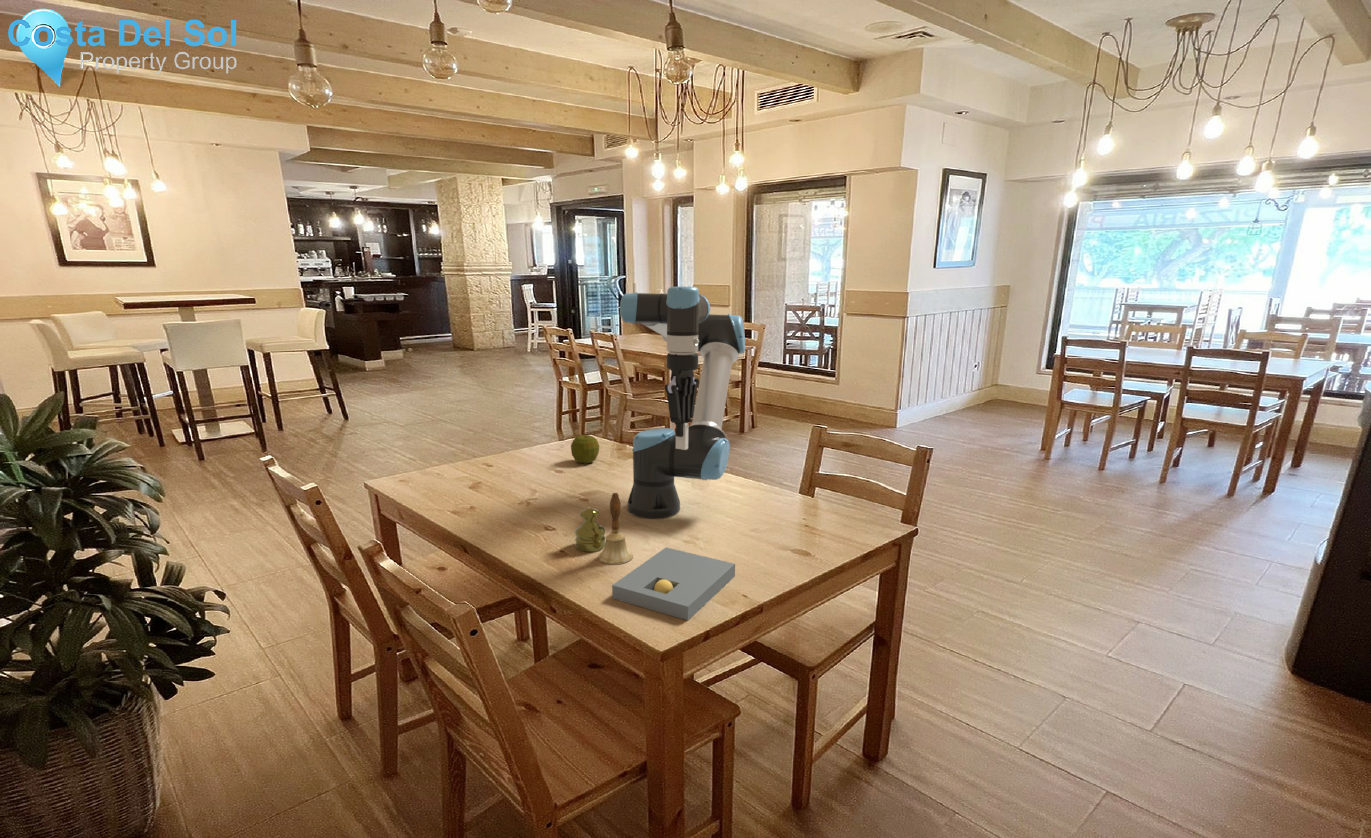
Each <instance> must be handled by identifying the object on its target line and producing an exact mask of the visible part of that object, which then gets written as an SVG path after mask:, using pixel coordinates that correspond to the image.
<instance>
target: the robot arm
mask: <svg viewBox="0 0 1371 838" xmlns="http://www.w3.org/2000/svg"><path fill="white" fill-rule="evenodd" d="M666 291H667V292H666V293H650V292H649V293H648V292H646V293H645V292H644V293H643V292H642V293H641V292H630V293H624V294H623V295H622V297H621V300H620V304H619V313H620V314H619V315H620V318H621V320H622V321H623V322H624V323H630V324H641V325H643V326H645V327H647V328H648V329H651V330H652V331H654V332H655V333H657V334H659V335H660V336H661V338H662V339H663V340H664V341H665V342H666V351H667V352H668V353H667V354H666V368H667V369H668V370H670V371H671V375H670V383H669V384H665V385H664V390H665V392H666V397H667V405H668V414H669V420H670V422H671V423H673V424H675V430H674V429H673V428H669V427H658V428H651V429H646V430H642V431H640V432H638V433H637V434H636V435H635V436H634V437H633V441H632V444H633V445H632V446H633V447H632V473H633V475H632V476H633V484H632V487H631V491H630V494H629V496H628V500H627V511H628V513H630V514H631V515H633V516H635V517H640V518H646V519H661V518H663V519H664V518H668V517H671V516H674V515H676V514H678V513H679V512H680V510H681V500H680V498H679V494H678V492H677V487H676V484H675V478H685V479H693V480H694V479H696V480H703V481H707V480H709V481H711V480H712V481H713V480H715V481H717V480H720V479H721V478H722V477H723V475H724V474H725V472H726V469H727V466H728V462H729V459H730V451H731V449H730V448H731V445H730V440H728V438H726V437H727V435H726V433H725V431H724V430H723V429H722V428H723V422H724V414H725V408H726V403H727V396H728V390H729V383H730V380H731V379H730V378H731V371H732V365H733V364H734V363H735V362H736V361H737V360H738V358H739V355H743V354H744V353H745V352H746V337H745V336H746V335H745V325H744V319H743V318H742V316H740V315H737V314H736V315H735V314H730V313H728V314H710V313H711V304H710V302H709V299H708V298H707V297H705V296H704V295H702V294H700V291H699V288H698V287H696V286H670V287H668V288H667V290H666ZM697 352H699V353H700V355H701V357H702V359H703V360H702V361H703V363H702V367H701V374H700V378H695V377H694V376H695V374H694V371H695V370H696V371H697V369H698V368H699V354H698V353H697ZM689 423H691V424H690V425H689Z"/></svg>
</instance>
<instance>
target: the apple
mask: <svg viewBox="0 0 1371 838" xmlns="http://www.w3.org/2000/svg"><path fill="white" fill-rule="evenodd" d="M570 444H571V445H570V450H571V456H572V458H573V459H574V460H575V462H578V463H580V464H585V463H586V464H590V463H593V462H595V461H596V460H597V457H598V455H599V452H600V444H599V441H598V439H597V438H595V436H592V435H589V434H588V435H587V434H586V433H585V432H584V434H581V435H577V436H576V437H575V438H574V439H573V440H572V442H571V443H570Z"/></svg>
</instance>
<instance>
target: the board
mask: <svg viewBox="0 0 1371 838" xmlns="http://www.w3.org/2000/svg"><path fill="white" fill-rule="evenodd" d="M735 577H736V563H733V562H730V561H725V560H720V559H717V558H712V557H708V556H705V555H704V556H703V555H700V554H697V553H691V552H686V551H682V550H680V549H675V548H671V547H664V548H662V550H660V551H658V552H657V553H655V554H654V555H653V556H652V557H650V558H649V559H647V560H646V561H644V562H643V563H642V564H640V565H639V566H637V567H636V568H635V569H633V570H632V571H630V572H628V573H627V574H626V575H625V576H623V577H622V578H620V579H619V580H617V581H616V582H614V583H613V584H612V585H611V587H612V588H611V589H612V590H611V591H612V593H611V595H612V599H613V600H617V601H619V602H620V601H621V602H624V603H627V604H629V605H630V604H631V605H633V606H638V607H640V608H644V609H647V610H651V611H654V612H657V613H659V614H660V613H662V614H664V615H667V616H671V617H675V618H676V619H677V618H678V619H681V620H683V621H684V620H685V621H690V620H691V619H692V617H693V616H695V615H696V614H697V613H698V612H699V611H700V610H701V609H702V608H703V607H704V606H705V605H706V604H707V603H708V602H710V600H711V599H712V598H714V597H715V596H716V595H717V594H718V593H719V592H720V591H721V590H722V589H723V588H724V587H725V586H727V584H729V582H730V581H731V580H733V579H734V578H735ZM663 579H664V580H668V581H670V582H671V584H672V585H673V589H672V590H671V591H670V592H668V593H667V594H664V593H660V592H657V591H654V587H655V584H656V583H657V582H658V581H659V580H663Z"/></svg>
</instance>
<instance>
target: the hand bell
mask: <svg viewBox="0 0 1371 838" xmlns="http://www.w3.org/2000/svg"><path fill="white" fill-rule="evenodd" d="M611 494H612V495H611V498H610V502H609V512H610V517H611V533H608V534H607V535H606V536H605V547H604V548H603V549H602V551H601V552H600V553H599V554H598V560H599V561H600V562H602V563H603V564H608V565H621V564H625V563H628V562H630V561H632V559H633V558H634V553H632V551H631V550H630V549H629V547H628V545H627V542H626V536H625V535H624V533H621V532H620V531H619V529H620V525H619V524H620V523H619V521H620V515H621V509H622V506H621V505H622V504H621V500H620V496H619V493H618V492H613V493H611Z"/></svg>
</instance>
